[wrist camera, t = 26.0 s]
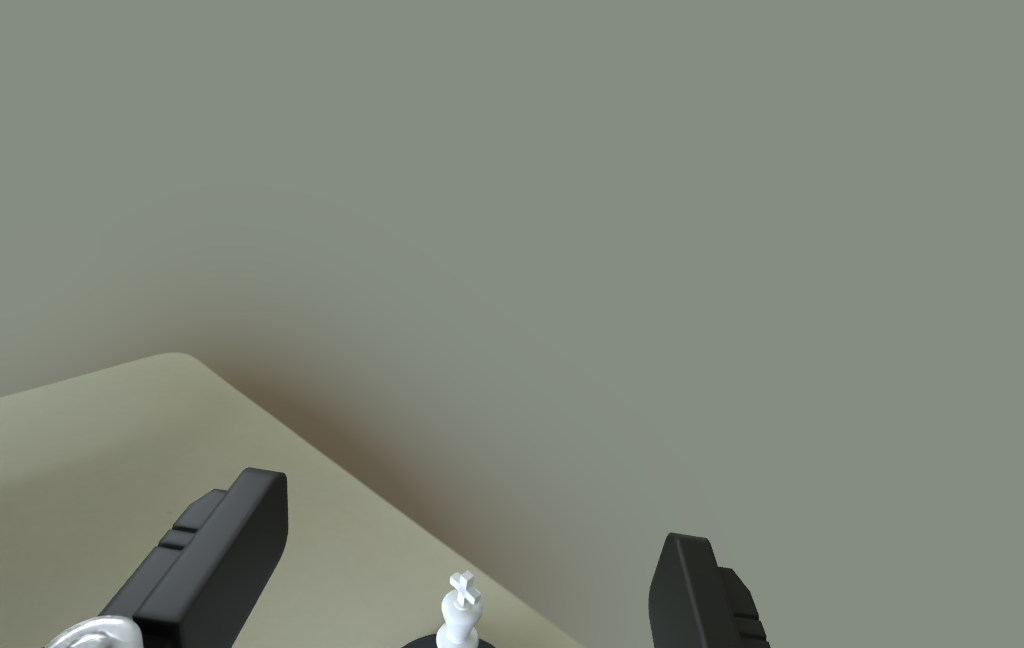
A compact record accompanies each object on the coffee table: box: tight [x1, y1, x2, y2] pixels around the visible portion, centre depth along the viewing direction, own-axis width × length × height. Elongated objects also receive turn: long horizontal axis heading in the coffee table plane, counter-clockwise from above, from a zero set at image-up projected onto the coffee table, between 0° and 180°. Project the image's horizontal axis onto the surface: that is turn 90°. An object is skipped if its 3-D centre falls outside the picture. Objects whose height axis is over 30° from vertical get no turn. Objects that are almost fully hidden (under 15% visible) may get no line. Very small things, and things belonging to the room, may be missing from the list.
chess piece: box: [436, 570, 483, 648], centre depth 30 cm, size 5×5×10 cm
